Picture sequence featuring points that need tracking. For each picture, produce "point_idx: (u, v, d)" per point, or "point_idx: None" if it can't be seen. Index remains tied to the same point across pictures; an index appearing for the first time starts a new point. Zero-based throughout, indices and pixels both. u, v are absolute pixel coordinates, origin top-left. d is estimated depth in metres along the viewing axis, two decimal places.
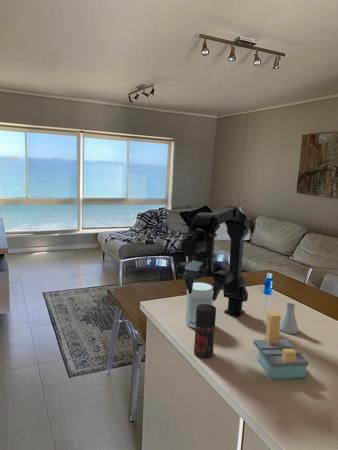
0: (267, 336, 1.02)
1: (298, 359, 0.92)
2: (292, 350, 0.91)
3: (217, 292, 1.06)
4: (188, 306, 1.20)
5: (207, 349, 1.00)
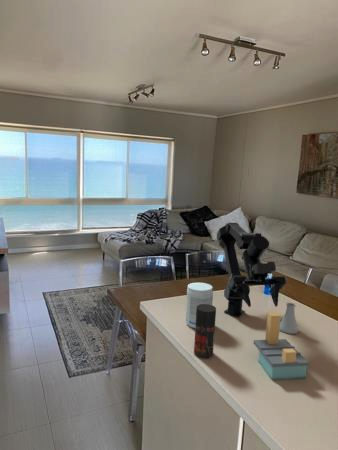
0: (267, 336, 1.02)
1: (298, 359, 0.92)
2: (292, 350, 0.91)
3: None
4: (188, 306, 1.20)
5: (207, 349, 1.00)
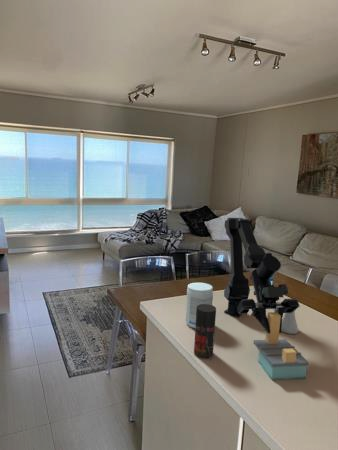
0: (267, 336, 1.02)
1: (298, 359, 0.92)
2: (292, 350, 0.91)
3: None
4: (188, 306, 1.20)
5: (207, 350, 1.00)
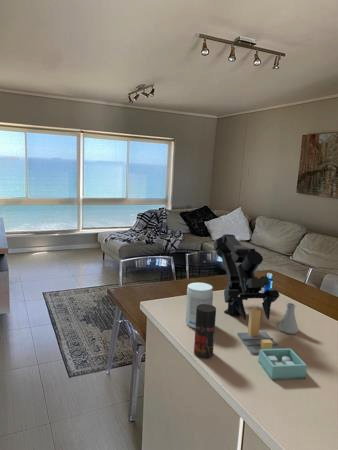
0: (249, 329, 1.15)
1: None
2: (269, 341, 1.05)
3: None
4: (188, 306, 1.20)
5: (207, 349, 1.00)
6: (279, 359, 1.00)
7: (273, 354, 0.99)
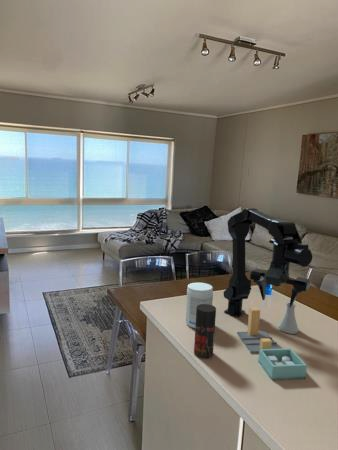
0: (249, 328, 1.16)
1: (273, 347, 1.07)
2: (268, 339, 1.06)
3: (294, 299, 1.08)
4: (188, 306, 1.20)
5: (207, 349, 1.00)
6: (279, 359, 1.00)
7: (273, 354, 0.99)
